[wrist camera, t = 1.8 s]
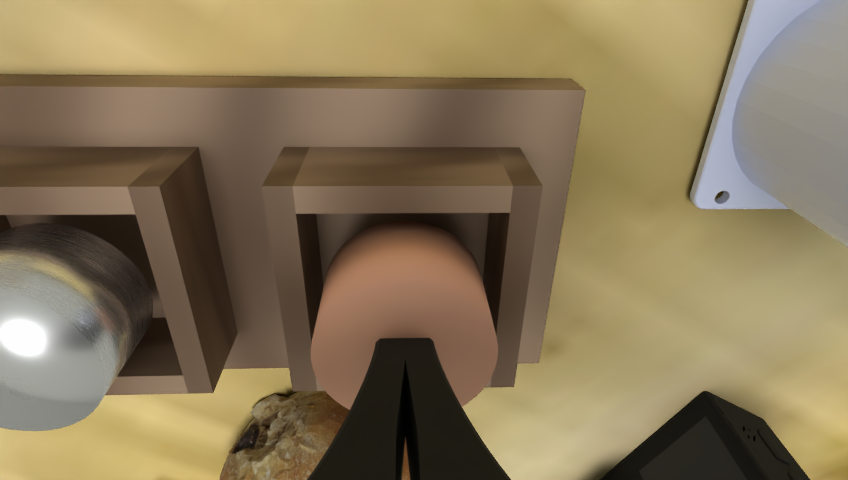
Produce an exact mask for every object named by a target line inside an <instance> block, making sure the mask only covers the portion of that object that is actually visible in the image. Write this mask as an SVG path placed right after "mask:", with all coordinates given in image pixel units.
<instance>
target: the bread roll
mask: <svg viewBox="0 0 848 480" xmlns="http://www.w3.org/2000/svg"><path fill="white" fill-rule="evenodd" d="M348 412H349V409H347V408H345V407H344V406H342V405H341V404H339V403H338V402H337V401H335V400H334V399H333V398H332V397H331V396H330V395H329V394H328V393H327V392H326V391H299V392H297V393H295V394H292V395H291V396H290V397H285V396H278V395H277V394H273V395H271V396H269V397H267V398H265V399H264V400H261V401H260V402H258V403H257V404H256V406H255V407H254V408H253V410H252V411H251V412H250V413H251V414H252V415H253V416H254V417H255V418H254V419H253V420H252V421H251V422H250V423H249V425H248V426H247V428H246V429H245V430H244V432H243V433H242V434H241V436H240V437H239V439H238V441H237V443H236V444H235V445H234V446H233V448H232V449H231V450H230V452H229V455H228V457H227V459H226V462H225V464H224V467H223V469H222V472H221V475H220V480H307V479H308V478H309V476H310V475H311V473H312V472H313V471H314V469H315V468H316V466H317V465H318V463H319V462H320V460H321V459H322V457H323V456H324V454H325V452H326V451H327V449H328V448H329V446H330V444H331V443H332V441H333V439H334V438H335V436H336V434H337V433H338V431H339V429H340V427H341V425H342V423H343V422H344V420H345V418H346V416H347V414H348ZM402 480H410V474H409V465H408V456H407V447H406V438H405V447H404V460H403V472H402Z"/></svg>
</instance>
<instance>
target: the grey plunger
mask: <svg viewBox="0 0 848 480" xmlns="http://www.w3.org/2000/svg"><path fill="white" fill-rule="evenodd" d="M152 317H153V299H152V294H151V291H150V289H149V286H148V284H147V282H146V280H145V278H144V276H143V275H142V273H141V272H140V271H139V269H138V268H137V267H136V266H135V265H134V263H133V262H132V261H131V260H130V259H129V258H128V257H127V256H125V255H124V254H123V253H122V252H121V251H120V250H118V249H117V248H115V247H114V246H113V245H111V244H110V243H108V242H106V241H104V240H103V239H101V238H99V237H97V236H95V235H93V234H91V233H88V232H85V231H83V230H80V229H77V228H73V227H69V226H65V225H60V224H53V223H29V224H24V225H18V226H15V227H12V228H9V229H7V230H5V231H3V232H1V233H0V427H1V428H6V429H12V430H22V431H44V430H52V429H59V428H62V427H66V426H69V425H72V424H74V423H77V422H79V421H80V420H82V419H84V418H86V417H87V416H88V415H89V414H91V413H92V412H93V411H94V410H95V408H96V407H97V406H98V405H99V403H100V402H101V400H102V399H103V397H104V396H105V394H106V392H107V391H108V389H109V388H110V386H111V385H112V383H113V382H114V380H115V379H116V377H117V376H118V374H119V373H120V371H121V369H122V368H123V366H124V365H125V363H126V362H127V360H128V359H129V357H130V356H131V354H132V353H133V351H134V349H135V348H136V346H137V345H138V343H139V342H140V340H141V339H142V337H143V336H144V334H145V333H146V331H147V329H148V327H149V326H150V323H151V320H152Z"/></svg>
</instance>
